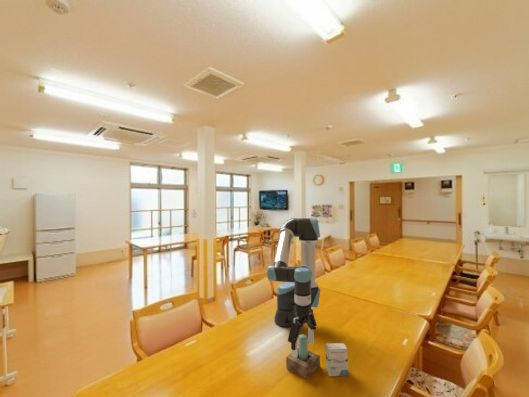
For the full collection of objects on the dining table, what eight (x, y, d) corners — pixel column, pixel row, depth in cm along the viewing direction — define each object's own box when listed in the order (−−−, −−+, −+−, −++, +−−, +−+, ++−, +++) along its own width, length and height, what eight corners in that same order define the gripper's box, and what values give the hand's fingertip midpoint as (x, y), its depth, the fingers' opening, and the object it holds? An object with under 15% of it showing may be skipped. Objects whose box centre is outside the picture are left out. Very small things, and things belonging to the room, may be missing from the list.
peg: (297, 367, 116) (296, 337, 116) (302, 363, 119) (301, 333, 119) (304, 371, 113) (304, 340, 113) (309, 367, 116) (309, 336, 116)
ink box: (344, 368, 115) (344, 342, 115) (348, 376, 110) (348, 348, 110) (325, 368, 115) (325, 342, 115) (328, 376, 110) (328, 349, 110)
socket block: (286, 368, 116) (286, 357, 116) (299, 356, 124) (299, 346, 124) (307, 379, 108) (307, 367, 108) (320, 366, 117) (319, 355, 117)
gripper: (293, 314, 104) (294, 366, 104) (323, 296, 123) (323, 340, 123) (279, 309, 109) (279, 358, 109) (310, 293, 128) (310, 335, 128)
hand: (303, 349), depth 116 cm, fingers open, 13 cm apart
